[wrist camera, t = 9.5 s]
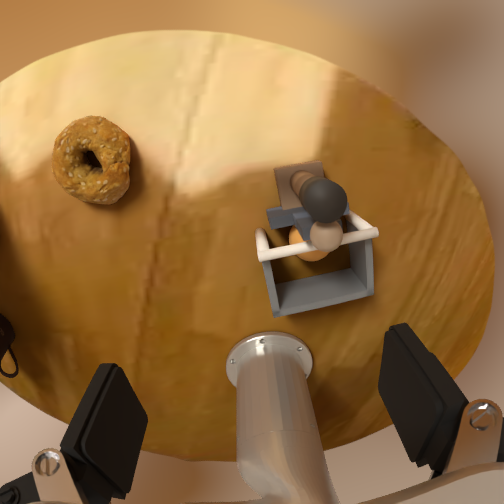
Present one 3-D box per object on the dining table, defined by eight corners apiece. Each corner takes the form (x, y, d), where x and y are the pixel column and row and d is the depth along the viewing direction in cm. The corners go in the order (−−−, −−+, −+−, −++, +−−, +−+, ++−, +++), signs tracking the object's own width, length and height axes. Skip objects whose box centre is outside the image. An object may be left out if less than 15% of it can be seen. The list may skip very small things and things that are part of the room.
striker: (339, 212, 35) (381, 247, 24) (269, 226, 35) (282, 269, 24) (331, 157, 32) (375, 170, 21) (258, 171, 33) (267, 189, 22)
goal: (358, 271, 38) (380, 300, 31) (267, 291, 38) (273, 325, 31) (352, 209, 35) (378, 227, 28) (254, 229, 35) (257, 253, 28)
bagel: (91, 219, 34) (74, 230, 30) (53, 147, 31) (32, 149, 26) (154, 177, 33) (141, 183, 28) (112, 100, 29) (94, 95, 25)
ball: (325, 203, 33) (326, 236, 37) (282, 211, 34) (287, 244, 37) (340, 231, 30) (339, 265, 33) (291, 241, 30) (295, 274, 33)
